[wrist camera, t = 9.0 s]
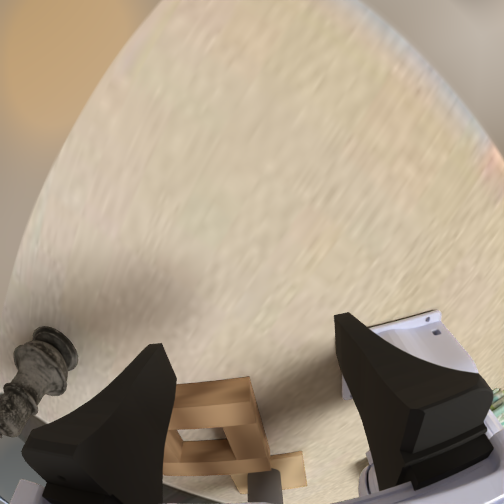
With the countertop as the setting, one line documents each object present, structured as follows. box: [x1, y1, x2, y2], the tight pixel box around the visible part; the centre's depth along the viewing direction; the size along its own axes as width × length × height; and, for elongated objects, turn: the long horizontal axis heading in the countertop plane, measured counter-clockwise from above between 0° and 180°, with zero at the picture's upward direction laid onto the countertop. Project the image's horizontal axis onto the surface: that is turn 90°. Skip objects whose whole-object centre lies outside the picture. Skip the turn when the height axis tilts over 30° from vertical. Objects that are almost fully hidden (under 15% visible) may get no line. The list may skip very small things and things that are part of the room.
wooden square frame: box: [163, 377, 271, 476], centre depth 27 cm, size 12×12×3 cm
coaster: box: [230, 451, 307, 494], centre depth 33 cm, size 9×9×1 cm
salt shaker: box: [0, 326, 78, 438], centre depth 20 cm, size 6×6×12 cm
